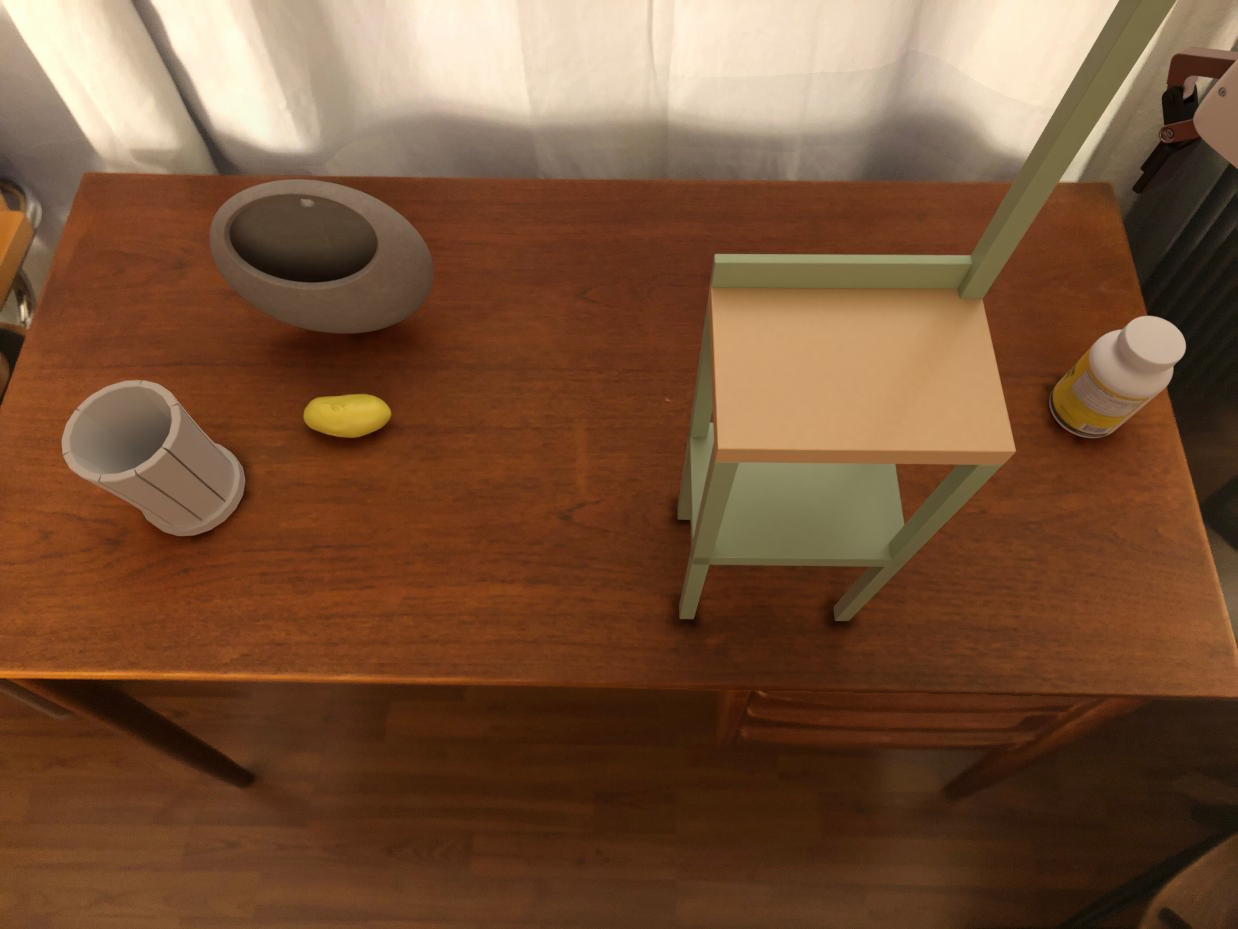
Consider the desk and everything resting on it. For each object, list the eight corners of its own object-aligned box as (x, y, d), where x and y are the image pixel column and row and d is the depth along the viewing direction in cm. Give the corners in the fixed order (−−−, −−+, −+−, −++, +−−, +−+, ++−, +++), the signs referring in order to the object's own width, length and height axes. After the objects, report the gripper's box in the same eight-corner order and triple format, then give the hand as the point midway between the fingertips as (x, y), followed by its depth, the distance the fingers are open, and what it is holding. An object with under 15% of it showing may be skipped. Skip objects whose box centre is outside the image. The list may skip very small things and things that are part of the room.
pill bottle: (1102, 377, 76) (1178, 301, 65) (1129, 437, 73) (1213, 368, 62) (1035, 384, 75) (1101, 310, 65) (1060, 445, 73) (1132, 377, 62)
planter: (260, 362, 77) (156, 227, 60) (269, 302, 80) (173, 158, 63) (451, 350, 78) (401, 212, 61) (453, 291, 81) (406, 145, 64)
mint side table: (849, 621, 66) (1528, -65, 16) (679, 619, 66) (832, -64, 16) (836, 509, 70) (1343, -306, 20) (677, 507, 70) (794, -303, 21)
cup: (111, 508, 71) (17, 447, 60) (175, 425, 74) (98, 354, 64) (207, 553, 69) (129, 499, 58) (268, 466, 72) (205, 400, 62)
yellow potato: (316, 403, 75) (300, 382, 72) (399, 407, 75) (388, 385, 71) (306, 443, 73) (290, 423, 70) (392, 446, 73) (380, 426, 70)
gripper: (1639, 70, 37) (1342, 297, 53) (1332, -119, 44) (1148, 132, 59) (1536, 128, 36) (1262, 344, 51) (1234, -76, 42) (1071, 170, 58)
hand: (1201, 230), depth 55 cm, fingers open, 9 cm apart
